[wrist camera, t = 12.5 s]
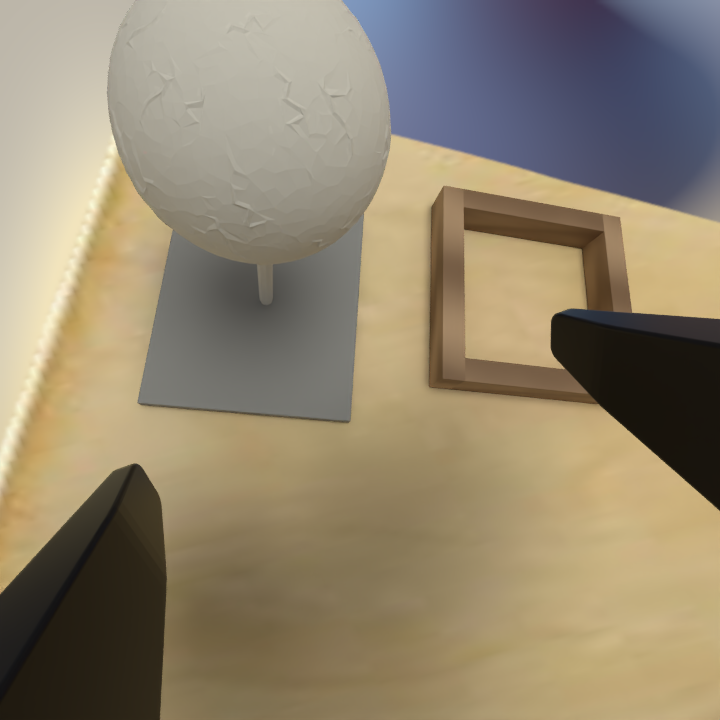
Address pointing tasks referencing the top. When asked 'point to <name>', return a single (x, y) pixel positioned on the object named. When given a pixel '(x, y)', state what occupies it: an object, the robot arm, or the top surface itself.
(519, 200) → the brown wooden square frame
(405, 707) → the top surface
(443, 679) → the top surface
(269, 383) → the mat
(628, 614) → the top surface
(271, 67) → the lollipop
